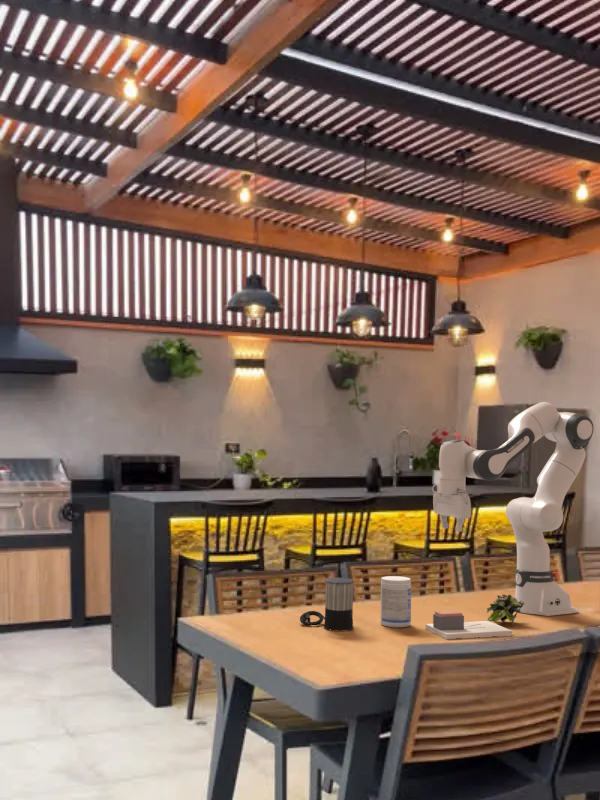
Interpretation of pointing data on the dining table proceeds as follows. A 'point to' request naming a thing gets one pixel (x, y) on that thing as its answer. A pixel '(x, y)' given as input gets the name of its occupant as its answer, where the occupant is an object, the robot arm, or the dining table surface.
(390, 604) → the supplement tub
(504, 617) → the green leafy plant
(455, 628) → the block
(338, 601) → the milk frother
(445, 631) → the board
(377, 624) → the dining table surface
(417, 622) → the dining table surface
